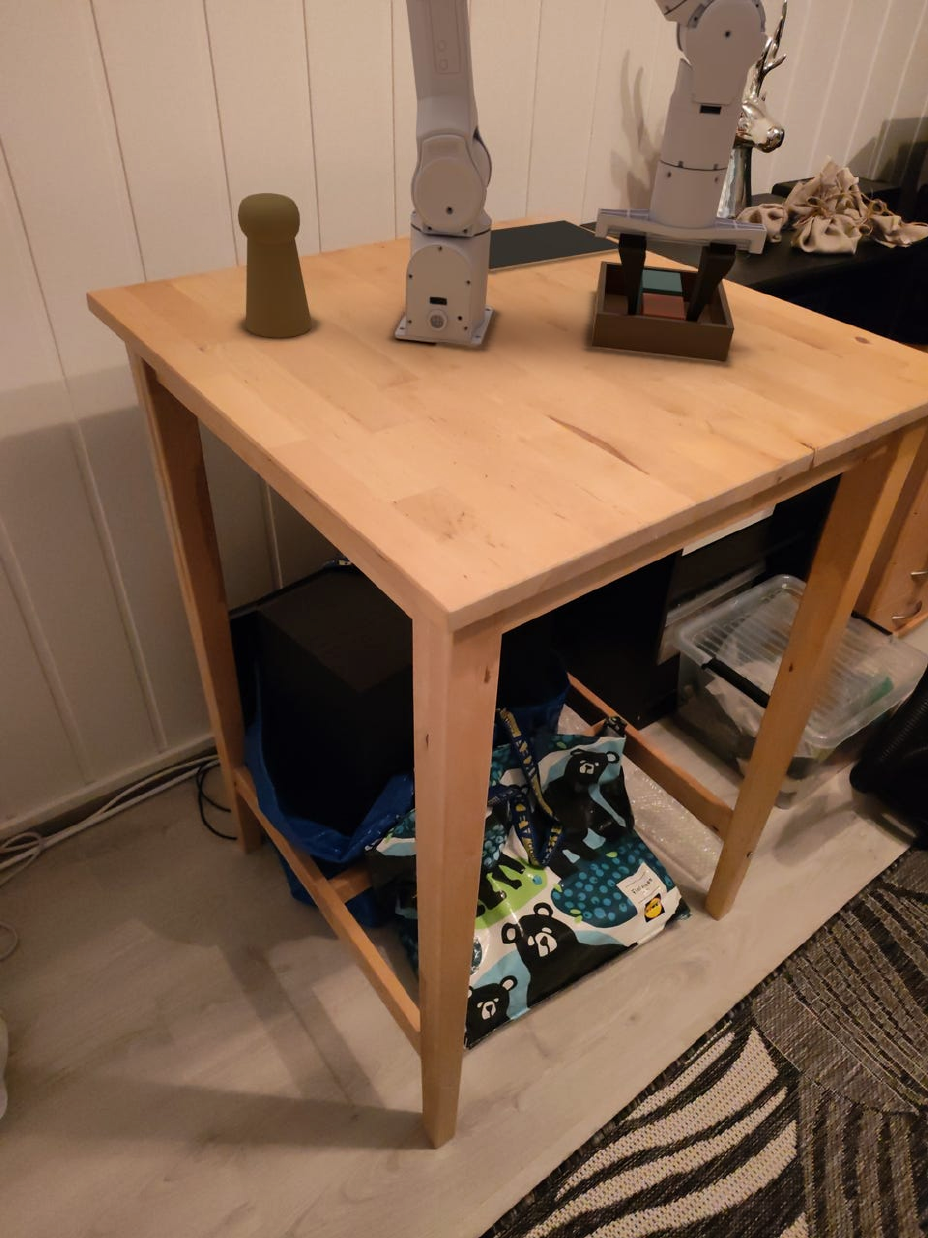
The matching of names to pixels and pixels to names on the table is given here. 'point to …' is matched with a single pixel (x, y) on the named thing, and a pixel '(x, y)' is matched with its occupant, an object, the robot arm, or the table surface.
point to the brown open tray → (660, 320)
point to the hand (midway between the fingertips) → (659, 323)
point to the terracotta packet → (662, 306)
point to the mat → (543, 243)
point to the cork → (273, 267)
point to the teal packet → (659, 284)
